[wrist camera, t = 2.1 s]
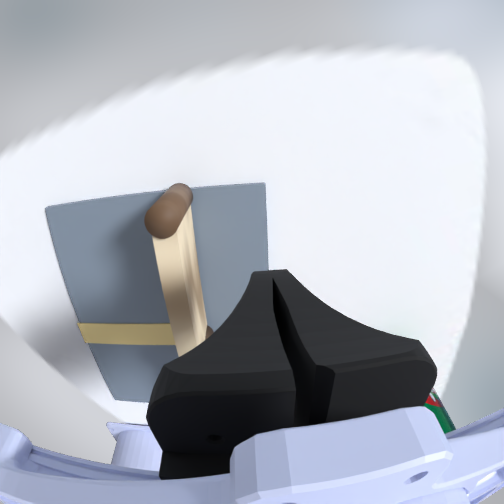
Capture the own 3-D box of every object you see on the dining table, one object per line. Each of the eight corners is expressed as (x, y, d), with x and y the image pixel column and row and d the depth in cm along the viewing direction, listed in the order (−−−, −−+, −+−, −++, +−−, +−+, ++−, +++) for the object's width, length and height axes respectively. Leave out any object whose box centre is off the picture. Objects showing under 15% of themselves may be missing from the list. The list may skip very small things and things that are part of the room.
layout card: (271, 397, 26) (271, 402, 26) (114, 396, 26) (113, 400, 25) (264, 182, 18) (265, 184, 18) (45, 206, 18) (42, 208, 18)
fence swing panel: (210, 323, 21) (204, 369, 17) (187, 323, 21) (177, 369, 17) (191, 181, 17) (176, 203, 13) (164, 184, 17) (141, 206, 13)
